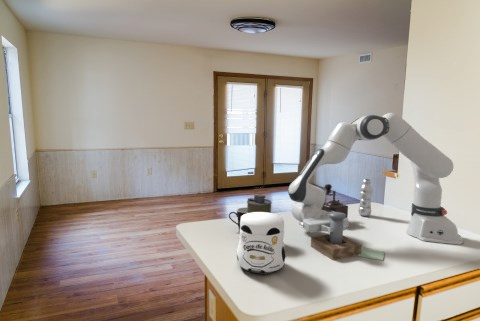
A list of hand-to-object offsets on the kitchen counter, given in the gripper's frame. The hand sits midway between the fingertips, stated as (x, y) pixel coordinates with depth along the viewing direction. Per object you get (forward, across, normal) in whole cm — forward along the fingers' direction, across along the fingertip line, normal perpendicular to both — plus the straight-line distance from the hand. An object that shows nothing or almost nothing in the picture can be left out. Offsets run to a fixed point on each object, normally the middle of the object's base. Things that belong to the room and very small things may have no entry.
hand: (338, 229), depth 136 cm
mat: (+8, +11, +9) cm, 16 cm away
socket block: (-1, 0, +9) cm, 9 cm away
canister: (-22, -24, +9) cm, 34 cm away
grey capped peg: (-1, 0, +9) cm, 9 cm away
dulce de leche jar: (+1, -35, +9) cm, 36 cm away
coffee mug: (-36, -25, +9) cm, 45 cm away
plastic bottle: (-34, +47, +9) cm, 58 cm away
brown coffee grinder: (-33, +23, +9) cm, 41 cm away
